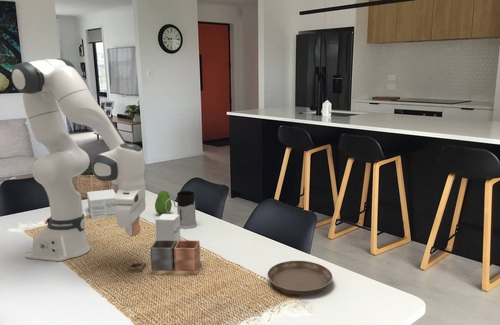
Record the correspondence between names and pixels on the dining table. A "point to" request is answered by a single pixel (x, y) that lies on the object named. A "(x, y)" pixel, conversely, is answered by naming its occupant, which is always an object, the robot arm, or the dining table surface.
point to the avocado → (163, 203)
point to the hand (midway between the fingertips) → (133, 230)
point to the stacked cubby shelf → (175, 257)
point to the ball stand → (130, 268)
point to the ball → (135, 229)
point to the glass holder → (185, 209)
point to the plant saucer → (300, 277)
